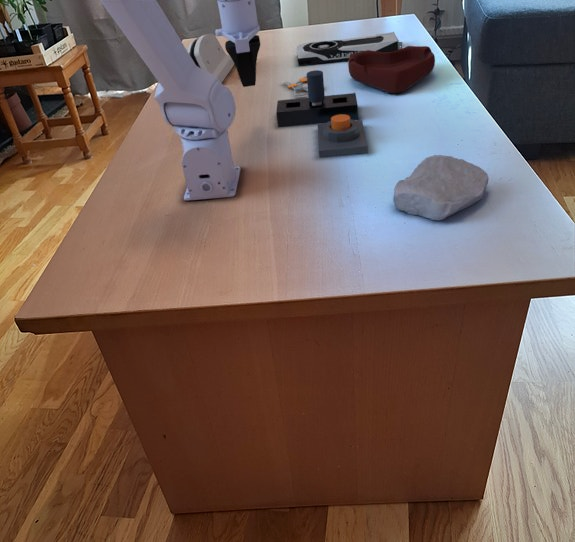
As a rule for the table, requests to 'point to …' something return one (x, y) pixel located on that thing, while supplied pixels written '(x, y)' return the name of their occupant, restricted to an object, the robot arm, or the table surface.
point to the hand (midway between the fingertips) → (249, 85)
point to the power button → (340, 122)
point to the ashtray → (392, 67)
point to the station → (342, 140)
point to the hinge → (210, 56)
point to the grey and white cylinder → (315, 87)
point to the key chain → (297, 86)
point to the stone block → (440, 187)
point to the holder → (315, 110)
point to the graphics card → (345, 48)
